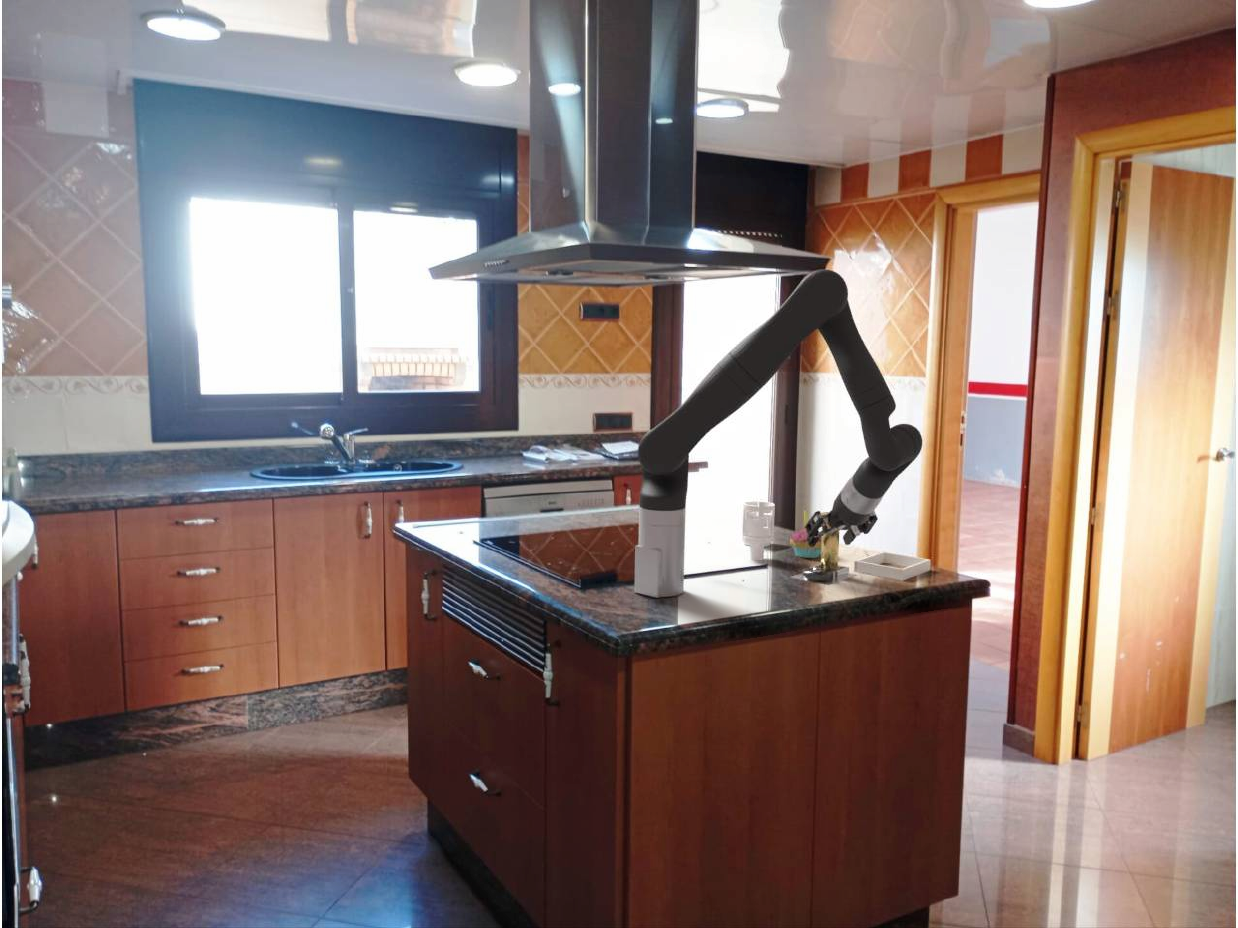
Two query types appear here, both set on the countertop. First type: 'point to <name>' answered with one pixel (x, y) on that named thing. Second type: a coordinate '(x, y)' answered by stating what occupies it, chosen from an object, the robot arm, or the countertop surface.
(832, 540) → the gold mushroom peg
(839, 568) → the tensioner plate
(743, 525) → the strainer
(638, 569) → the robot arm
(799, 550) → the cupcake
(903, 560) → the tray
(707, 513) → the countertop surface
